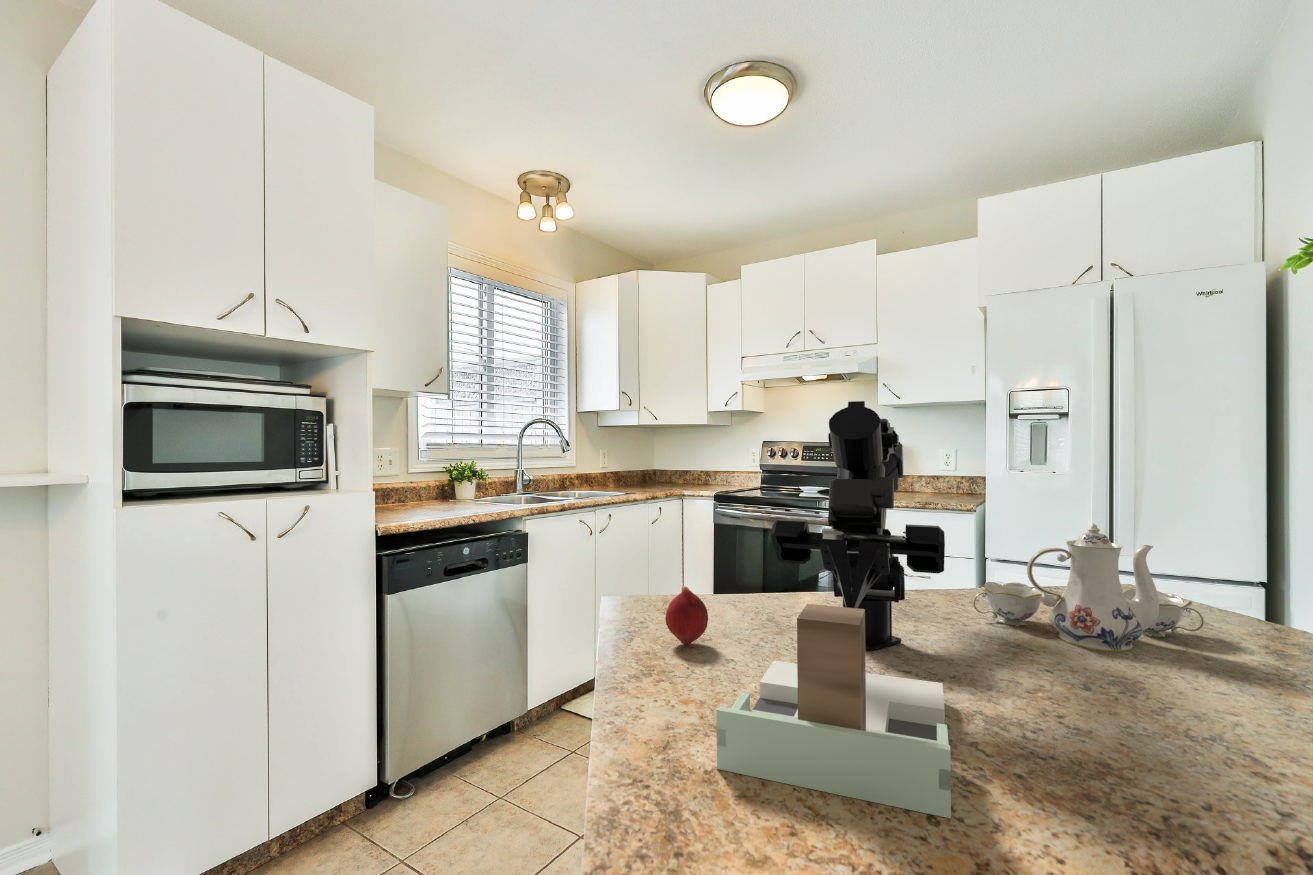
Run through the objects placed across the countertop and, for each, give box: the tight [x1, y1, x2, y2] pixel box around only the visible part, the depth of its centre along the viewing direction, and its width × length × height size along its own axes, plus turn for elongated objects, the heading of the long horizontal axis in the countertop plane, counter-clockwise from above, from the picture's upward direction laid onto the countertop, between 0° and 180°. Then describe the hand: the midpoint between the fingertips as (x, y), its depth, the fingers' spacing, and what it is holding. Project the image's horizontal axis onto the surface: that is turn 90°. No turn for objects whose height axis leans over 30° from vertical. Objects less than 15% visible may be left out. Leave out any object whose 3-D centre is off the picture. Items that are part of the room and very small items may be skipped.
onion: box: [664, 585, 709, 646], centre depth 85 cm, size 6×6×8 cm
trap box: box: [716, 660, 952, 819], centre depth 59 cm, size 22×18×5 cm
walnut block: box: [796, 603, 867, 731], centre depth 53 cm, size 5×5×11 cm
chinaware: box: [972, 523, 1205, 653], centre depth 89 cm, size 28×17×17 cm, turn 76°
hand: (850, 610), depth 67 cm, fingers closed
